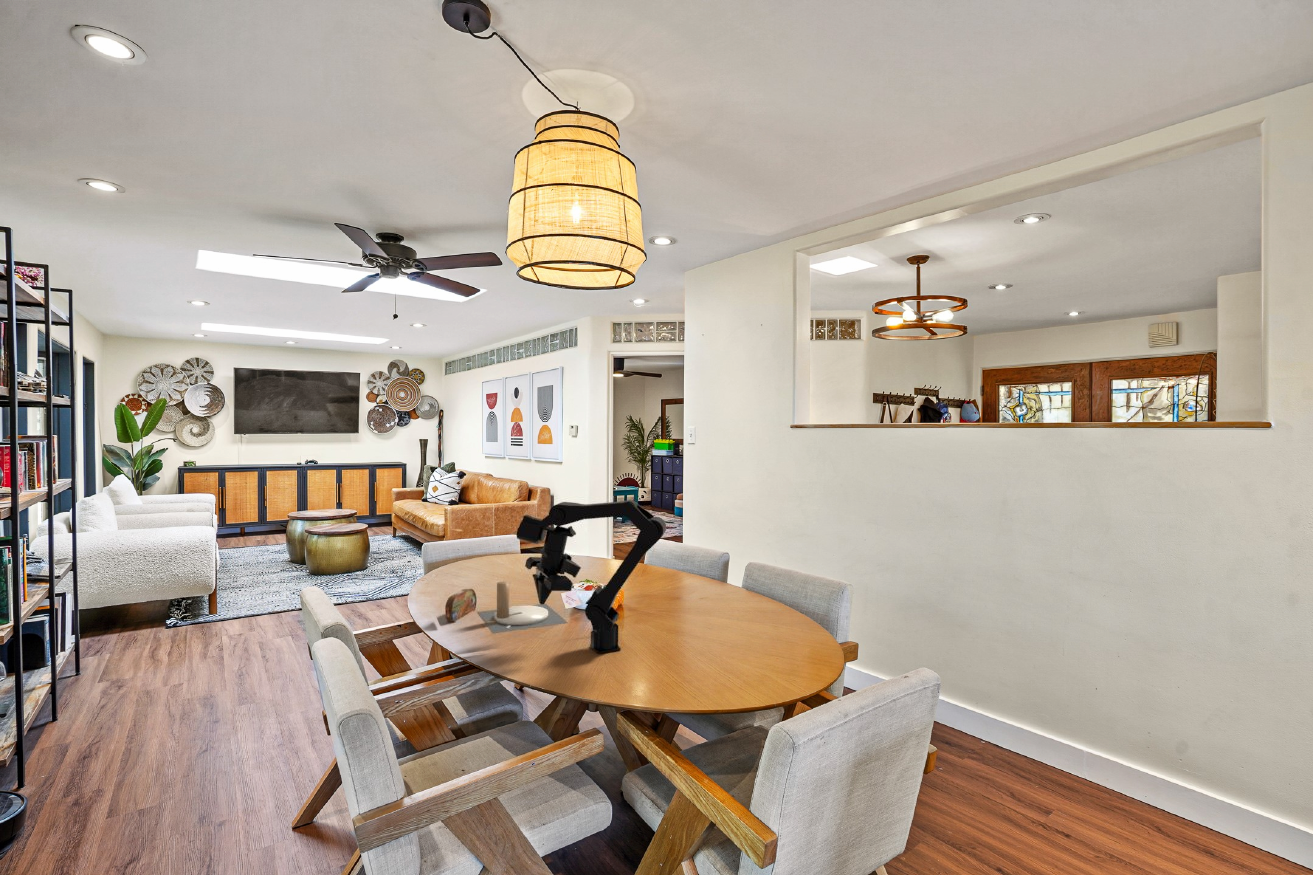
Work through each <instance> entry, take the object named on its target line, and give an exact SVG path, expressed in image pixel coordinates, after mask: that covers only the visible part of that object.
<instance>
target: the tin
mask: <svg viewBox="0 0 1313 875" xmlns="http://www.w3.org/2000/svg"><path fill="white" fill-rule="evenodd" d="M477 603H478V602H477V593H476V591H475V589H473V588H464V589H461V590H459V591H458V592H456V593H454V594H452V595H450V596H449V597H448V598H447V600H446V602H445V608H444V609H445V612H444V613H445V619H446V621H447V623H456V622H457V621H459V620H460V619H462V618H464V617H465V616H468V615H469V614H470V613H472V612H475V611H476V608H477Z"/></svg>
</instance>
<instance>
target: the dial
mask: <svg viewBox="0 0 1313 875" xmlns="http://www.w3.org/2000/svg"><path fill="white" fill-rule="evenodd" d="M496 610H497V611H496V612H495V614H494V620H495V621H496V622H498V623H500V624H505V625H529V624H535V623H539V622H542V621H544V620H546V619H547V618H548V610H547V609H545V608H542V607H538V606H531V605H514V606H513V605H512V606H510V582H509V581H498V582H497V583H496Z"/></svg>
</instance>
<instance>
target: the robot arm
mask: <svg viewBox="0 0 1313 875" xmlns="http://www.w3.org/2000/svg"><path fill="white" fill-rule="evenodd" d="M616 517H625V518H627V519H628V520H629V521H630V522H631V523H632V524H633V525H634V527H636V529H637V530H639V532H638V535H637V537H636V539H635V542H634V545H633V546H632V548H631V549H630V551H629V552H628V553H627V555H626V556H625V558H624V559H623V561H622V562H621V563H620V565H619V566H618V568H617V569H616V571H615V572H614V574H613V575H612V577H611V578H610V579H609V581H608V582H607V583H606V585H605V586H604V587H603V588H602V587H601V586H600V585H598V586H597V587H596V588H595V589H594V590H593V591H592V594H591V596H590V597H589V598H588V600H587V601H586V602H585V605H586V606H585V607H584V608H585V609H584V612H585V616H586V618H587V620H589V622H590V624H591V627H592V630H591V631H590V644H589V647H590V648H591V649H593V651H595V652H596V654H604V653H605V654H606V653H610V652H616V651H617V652H618V651H621V650H622V648H621V647H620V646H619V624H618V623H616V622H617V621H618V619H619V617H620V613H619V612H618V611H617V610H616V608H614V606H613V605H614V603H615V601H616V599H617V595H618V593H619V592H620V590H621V589H622V588H623V586H624V584H625V583H626V582H627V580H628V579H629V577H630V576H631V574H632V573H633V572H634V570H635V569H636V567H637V566H638V564H640V562H641V560H642V559H643V557H645V555H646V553H647V552H648V551H650V550H651V549H652V547H654V546H655V544H657V542H659V540H661V539H662V537H663V536H664V534H665V533H666V530H667V525H666V522H665V520H664V518H662V517H659V516H654V515H653V514H652V513H651V512H649V510H646V509H645V508H644V507H642V506H641V505H640V504H639V503H638V502H636V501H635V500H632V499H627V500H622V501H621V500H620V501H613V502H599V503H588V504H585V503H579V502H572V501H571V502H570V501H561V502H560V503H557V504H554V505H552V506H551V508H550V509H549V512H548V515H547V516H545V517H544V518H537V517H533V516H532V515H529V514H525V515H523V516H522V520H521V521H520V523H519V526H518V527H517V529H516V539H517V540H521V541H524V542H527V543H532V544H534V545H538V544H540V542H543V541H544V543H543V548H539V553H540V554H541V555H540V556H529V557H528V558H527V559H526V561H525V565H524V567H525V568H527V569H528V570H531V569H532V568H535V574H534V573H532V578H533V582H534V586H535V589H536V594H537V597H538V598H537V599H538V602H539V604H546V602H547V600H548V598H549V596H550V595H551V593H552V592H572V589H573V584H574V583H573V582H572V580H571V579H570V578H569V577H568V576H566V575H565V573H566V574H568V575H570V576H572V577H573V578H574V579H575V578H576V577H577V576H578V574H579V572H580V571H581V569H582V567H581V566H580V565H579V564H577V563H576V562H575V561H573V560H572V559H573V558H572V556H571V555H570V554H568V553H566V552H565V549H566V545H567V540H568V537H570V538H573V537H574V536H576V535H577V532H576V531H575V530H574V528H573V526H572V525H570V526H568V527H565V526H566V525H569V524H572V523H577V522H581V521H583V520H590V519H591V520H592V519H604V518H616ZM553 525H554V526H555V527H554V526H553Z"/></svg>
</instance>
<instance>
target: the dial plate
mask: <svg viewBox="0 0 1313 875" xmlns="http://www.w3.org/2000/svg"><path fill="white" fill-rule="evenodd" d="M530 606H538V607H542V608H545V609H547V610H548V618H547V619H546V620H544V621H542V622H539V623H535V624H529V625H505V624H500V623H498V622H496V621H495V620H494V614H495V612H496V611H497V609H491V610H481V611H477V612H476V613H477V615H479V617H480V618H481V619H482V621H483V622H484V623H485V625H486V626H487V628H488V629H489V630H490V632H491V634H499V633H506V632H507V633H508V632H513V631H519V630H528V629H535V628H542V627H551V626H558V625H563V624H569V623H568V621H567V620H566V619H565V618H563V617H562V616H561V615H560V614H559V613H557V612H556V611H555V610H554V609H552V608H551V607H550V606H549V605H548V604H547V603H544V604H540V603H539V604H533V605H530Z"/></svg>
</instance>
